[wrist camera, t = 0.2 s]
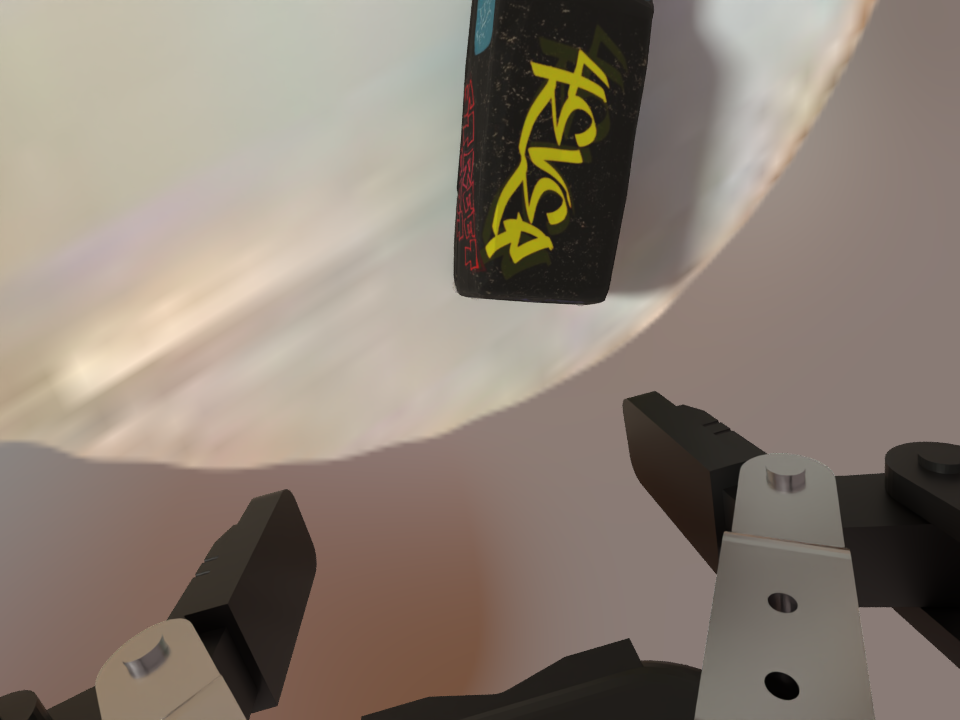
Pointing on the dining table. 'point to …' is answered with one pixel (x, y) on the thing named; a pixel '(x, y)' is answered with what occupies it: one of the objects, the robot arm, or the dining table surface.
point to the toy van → (547, 146)
